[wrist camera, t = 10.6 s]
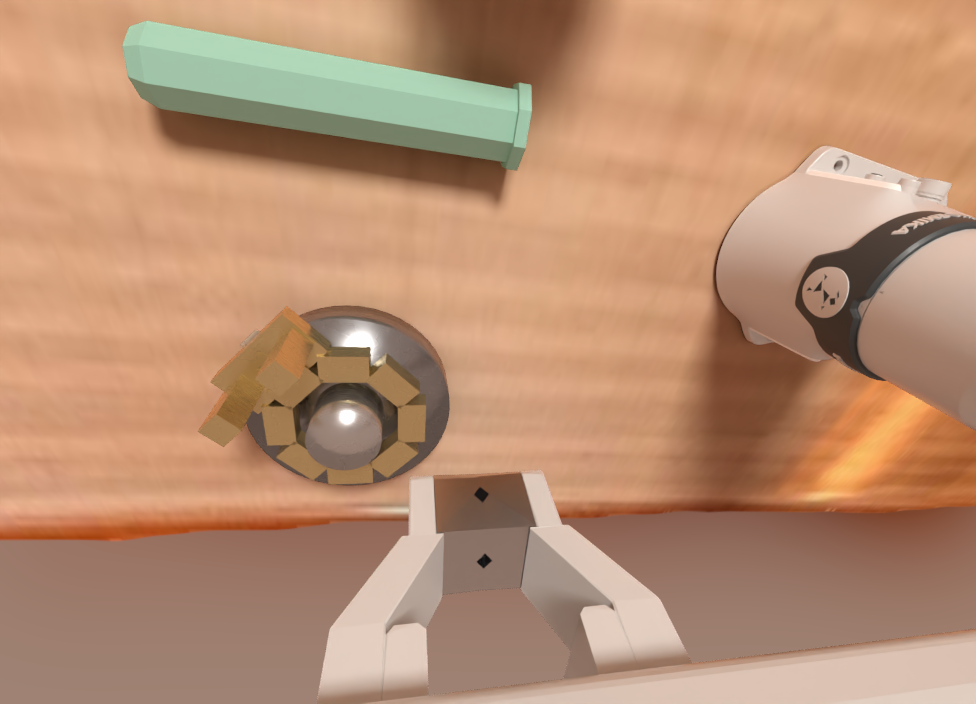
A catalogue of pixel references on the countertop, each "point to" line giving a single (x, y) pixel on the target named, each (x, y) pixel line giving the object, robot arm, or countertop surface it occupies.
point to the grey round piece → (363, 394)
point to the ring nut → (296, 373)
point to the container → (325, 93)
